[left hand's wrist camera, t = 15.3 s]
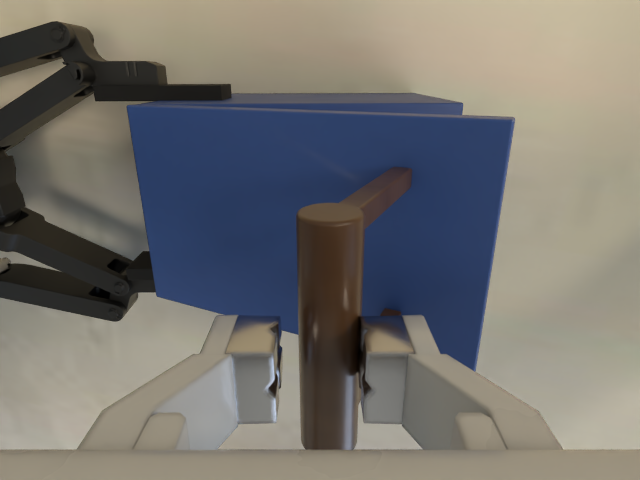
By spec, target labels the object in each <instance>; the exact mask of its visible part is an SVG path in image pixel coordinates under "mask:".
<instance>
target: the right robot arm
mask: <svg viewBox="0 0 640 480" xmlns="http://www.w3.org/2000/svg"><path fill="white" fill-rule="evenodd" d="M93 43H94V38H93V35H92V33H91V32H90V31H89V30H88V29H87V28H85V27H82V26H77V25H72V24H67V23H62V22H57V21H56V22H50V23H47V24H43V25H40V26H37V27H34V28H31V29H27V30H24V31H21V32H18V33H15V34H11V35H8V36H5V37H2V38H0V77H2V76H5V75H8V74H12V73H15V72H18V71H21V70H25V69H28V68H31V67H35V66H38V65H41V64H44V63H48V62H51V61H54V60H58V59H61V58H63V59H64V61H65V62H63V64H64V65H66V66H65V67H63V68H62V69H60V70H59V71H57V72H56V73H54V74H53V75H51V76H50V77H48V78H47V79H45V80H44V81H42V82H41V83H39V84H38V85H36V86H35V87H33V88H32V89H30V90H29V91H27V92H26V93H24V94H23V95H21V96H20V97H18V98H17V99H15V100H14V101H12V102H11V103H9V104H8V105H6V106H5V107H3V108H2V109H0V251H5V252H11V251H14V252H18V253H20V254H23V255H25V256H27V257H30V258H32V259H34V260H36V261H39V262H41V263H43V264H46V265H48V266H50V267H53V268H55V269H57V270H60V271H62V272H60V271H55V270H51V269H46V268H41V267H37V266H32V265H27V264H11V261H10V260H9V259H8V258H6V257H5V258H2V259H1V258H0V298H5V299H10V300H15V301H19V302H24V303H29V304H33V305H38V306H43V307H48V308H52V309H57V310H62V311H66V312H71V313H76V314H81V315H85V316H90V317H95V318H100V319H104V320H109V321H120V320H121V319H122V318H123V317H124V315H125V314H126V313H127V312H128V310H129V309H130V308H131V307H132V305H133V304H134V303H135V301H136V300H137V298H138V292H156V289H155V283H154V276H153V270H152V264H151V257H150V251H143V252H142V253H141V254H140V255H139V256H138V257H137V258H136V259H135V260H134V261H132V260H130V259H128V258H126V257H123V256H121V255H119V254H117V253H114V252H112V251H110V250H108V249H106V248H103V247H101V246H99V245H97V244H94V243H92V242H90V241H88V240H86V239H83V238H81V237H79V236H77V235H75V234H72V233H70V232H68V231H66V230H63V229H61V228H59V227H57V226H55V225H52V224H50V223H48V222H46V221H45V219H44V217H43V216H42V215H40V214H38V213H36V212H34V211H32V210H29V209H27V208H25V202H24V198H23V194H22V192H21V190H20V189H19V187H18V185H17V183H16V167H15V163H14V159H13V156H8V155H7V154H6V151H7V150H9V149H10V148H12V147H14V146H15V145H17V144H18V143H20V142H21V141H23V140H24V139H25V137H26V136H27V135H29V134H30V133H32V132H33V131H35V130H37V129H38V128H40V127H41V126H43V125H44V124H46V123H48V122H49V121H51V120H52V119H54V118H55V117H57V116H58V115H60V114H62V113H63V112H65V111H66V110H68V109H69V108H71V107H72V106H74V105H76V104H77V103H79V102H80V101H82V100H83V99H85V98H87V97H88V96H90V95H91V94H93V93H94V96H95V101H204V100H225V99H229V98H232V96H231V84H167V77H166V69H165V66H164V65H162V64H159V63H157V62H149V61H106V60H104V59H103V58H102V57H101V56H100V55H99V54H98V53H97V51H96V49H95V47H94V45H93Z"/></svg>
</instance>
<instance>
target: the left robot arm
mask: <svg viewBox="0 0 640 480" xmlns="http://www.w3.org/2000/svg"><path fill="white" fill-rule="evenodd" d="M281 333H282V330H281V318H280V316H258V315H239V316H238V315H218V316H216V317H215V320H214V322H213V324H212V327H211V329H210V331H209V333H208V336H207V338H206V340H205V343H204V345H203V347H202V350H201V352H200V354H193V355H191V356H190V357H188V358H186V359H185V360H183V361H182V362H180V363H178V364H177V365H175V366H173V367H172V368H170V369H169V370H167V371H165V372H164V373H162V374H161V375H159V376H157V377H156V378H154V379H152V380H151V381H149V382H148V383H146V384H144V385H143V386H141V387H140V388H138V389H136V390H135V391H133V392H132V393H130V394H128V395H127V396H125V397H123V398H122V399H120V400H119V401H117V402H115V403H114V404H112V405H111V406H109V407H107V408H106V409H104V410H102V412H101V413H100V415H99V416H98V418H97V419H96V421H95V422H94V424H93V425H92V427H91V428H90V430H89V432H88V433H87V435H86V436H85V438H84V439H83V441H82V442H81V444H80V445H79V447H78V448H77V450H0V480H640V450H563V448H562V447H561V445H560V444H559V442H558V441H557V439H556V438H555V436H554V434H553V433H552V431H551V430H550V428H549V427H548V425H547V424H546V422H545V421H544V419H543V417H542V416H541V414H540V413H539V411H537V410H536V409H534V408H532V407H531V406H529V405H527V404H526V403H524V402H523V401H521V400H519V399H518V398H516V397H515V396H513V395H511V394H510V393H508V392H507V391H505V390H503V389H502V388H500V387H499V386H497V385H495V384H494V383H492V382H491V381H489V380H487V379H486V378H484V377H483V376H481V375H479V374H478V373H476V372H474V371H473V370H471V369H470V368H468V367H466V366H465V365H463V364H462V363H460V362H458V361H457V360H455V359H454V358H452V357H450V356H449V355H447V354H440V352H439V350H438V347H437V345H436V343H435V341H434V338H433V336H432V334H431V332H430V329H429V327H428V325H427V322H426V320H425V318H424V316H422V315H396V316H360V325H359V340H360V349H359V352H358V381H359V388H360V389H361V406H362V413H363V420H364V423H380V424H402V426H403V427H404V428H405V430H406V431H407V432H408V433H409V434H410V435H411V436H412V437H413V438H414V440H415V441H416V442H417V443H418V444H419V445H420V446H421V447H422V448H423V449H424V450H217V449H218V447H219V446H220V445H221V444H222V443H223V442H224V441H225V440H226V439H227V438H228V436H229V435H230V434H231V433H232V432H233V431H234V430H235V429H236V428H237V427H238V424H259V423H276V421H277V413H278V406H279V389H280V388H281V381H282V347H281V346H280V340H281Z"/></svg>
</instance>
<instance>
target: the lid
mask: <svg viewBox="0 0 640 480" xmlns="http://www.w3.org/2000/svg"><path fill="white" fill-rule="evenodd" d="M127 112H128V118H129V124H130V131H131V137H132V143H133V150H134V156H135V162H136V169H137V175H138V181H139V188H140V194H141V200H142V207H143V213H144V219H145V226H146V232H147V238H148V245H149V251H150V257H151V264H152V270H153V276H154V283H155V289H156V295H157V297H161V298H164V299H168V300H172V301H175V302H179V303H183V304H187V305H190V306H194V307H198V308H201V309H205V310H209V311H212V312H216V313H220V314H224V315H238V316H239V315H258V316H280V318H281V330H283V331H286V332H290V333H294V334H298V335H299V371H300V413H301V441H302V444H303V446H304V448H305V449H306V450H353V449H354V447H355V445H356V442H357V425H358V404H359V402H360V401H361V389H360V388H359V381H358V352H359V349H360V340H359V325H360V316H396V315H422V316H424V318H425V320H426V322H427V325H428V327H429V329H430V332H431V334H432V336H433V338H434V341H435V343H436V345H437V347H438V350H439V352H440V354H447V355H449V356H450V357H452V358H454V359H455V360H457V361H458V362H460V363H462V364H463V365H465V366H466V367H468V368H470V369H471V370H473V371H474V372H475V371H476V365H477V359H478V353H479V346H480V340H481V333H482V327H483V321H484V314H485V308H486V302H487V295H488V289H489V283H490V276H491V270H492V263H493V257H494V251H495V244H496V238H497V232H498V225H499V219H500V213H501V206H502V200H503V193H504V187H505V181H506V174H507V168H508V162H509V155H510V149H511V143H512V136H513V130H514V123H515V118H514V117H498V116H469V115H441V114H412V113H384V112H355V111H327V110H299V109H270V108H242V107H213V106H185V105H156V104H137V105H128V106H127Z"/></svg>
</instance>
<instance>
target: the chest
mask: <svg viewBox="0 0 640 480" xmlns="http://www.w3.org/2000/svg"><path fill="white" fill-rule="evenodd" d="M231 96H232V98H229V99H225V100H204V101H154V102H148V103H142V104H156V105H185V106H213V107H242V108H270V109H299V110H327V111H355V112H384V113H412V114H441V115H462V111H463V103H460V102H455V101H450V100H445V99H440V98H435V97H430V96H425V95H420V94H416V93H300V94H231Z"/></svg>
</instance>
